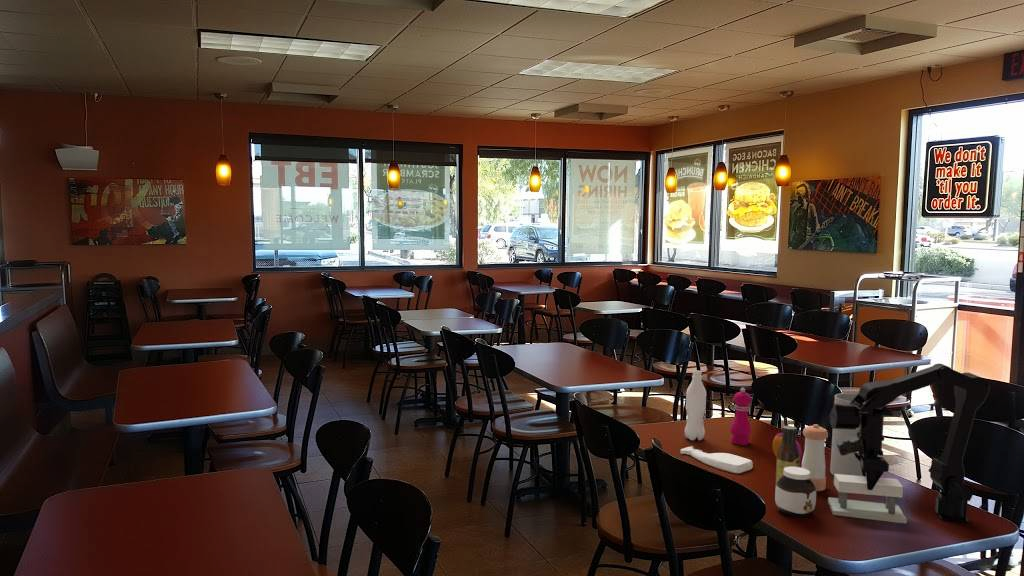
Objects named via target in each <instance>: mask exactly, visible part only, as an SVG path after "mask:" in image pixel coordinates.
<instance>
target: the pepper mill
mask: <svg viewBox="0 0 1024 576" xmlns="http://www.w3.org/2000/svg"><path fill="white" fill-rule="evenodd" d="M739 390H740V391H738V392H736V393H735V394H734V396H733V402H734V403H735V404H734V409H735V415H734V419H733V421H732V423H731V426H730V431H729V432H730V433H731V435H732V436H731V443H733V444H734V443H735V445H738V444H739V446H747V444H748V445H749V444H750V443H751V442H750V440H751V439H750V435H752V426H751V424H750V420H749V415H748V414H749V413H748V412H749V411H750V405H751V402H752V397H751V395H750V394H749V393H748V392H747V391H746V388H745V387H741V388H740V389H739Z"/></svg>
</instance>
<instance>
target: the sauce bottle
mask: <svg viewBox="0 0 1024 576" xmlns="http://www.w3.org/2000/svg"><path fill="white" fill-rule="evenodd" d="M797 429H798V428H797V427H795V426H792V425H783V426H782V427H781V433H782V443H781V445H780V446H779V448H778V450H777V457H776V466H775V467H776V470H775V485H776V484H777V481H778V480H779V478H780V477H782V476H783V475H784V474H783V472H784V468H785V467H800V466H801V465H800V461H801V459H800V454H799V451H798V448H797V444H796V441H797V432H798V430H797Z"/></svg>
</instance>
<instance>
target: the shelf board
mask: <svg viewBox="0 0 1024 576" xmlns="http://www.w3.org/2000/svg"><path fill="white" fill-rule="evenodd" d="M833 486H834V487H835V489H836V490H837V492H838V493H839V492H845V493H847V494H857V495H868V496H869V495H870V496H878V497H879V496H880V497H886V496H890V497H893V498H903V494H904V493H903V492H904V486H903V485H902V484H901V482H900V481H899V480H898V479H897V478H889V477H888V478H886V477H880V478H879V480H878V482H877V483H876V485H875V486H874V488H873V489H872V490H868V489H867V481H866V476H854V475H843V474H834V476H833Z"/></svg>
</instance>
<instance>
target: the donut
mask: <svg viewBox="0 0 1024 576" xmlns="http://www.w3.org/2000/svg"><path fill="white" fill-rule="evenodd" d="M781 443H782V432H781V433H780V432H778V433H776V434H775V436H774V437H773V441H772V451H773V453H774V456H775V457H776V458H777V450H778V448H779V446H780V445H781ZM796 444H797V448H798V451H799V454H800V460H801V458H802V447H801V445H800V444H799V441H798V440H796Z"/></svg>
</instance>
